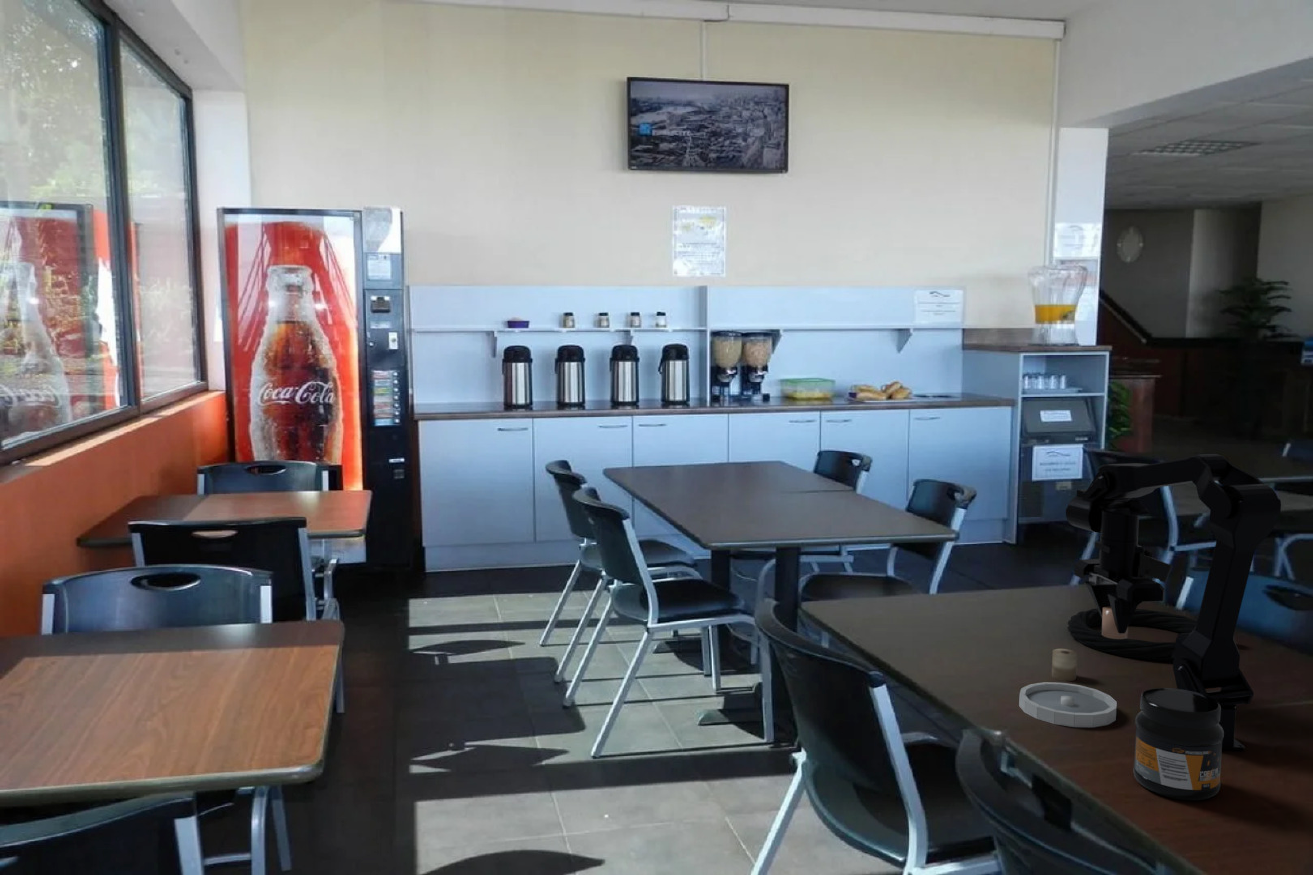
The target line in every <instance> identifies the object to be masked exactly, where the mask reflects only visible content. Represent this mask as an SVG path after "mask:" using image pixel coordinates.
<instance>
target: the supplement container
mask: <svg viewBox="0 0 1313 875" xmlns="http://www.w3.org/2000/svg"><path fill="white" fill-rule="evenodd" d="M1139 707H1140V710H1141V711H1139V712H1138V713H1137V714H1136V716H1135V720H1134V721H1135V722H1134V723H1135V744H1134V759H1133V760H1134V762H1133V770H1132V772H1133V775H1134V778H1135V779H1136V781H1137V782H1138V783H1139V784H1140V785H1142V786H1143V787H1144V788H1145V789H1147V790H1148V791H1150V792H1153V793H1155V794H1157V795H1160V796H1163V797H1166V798H1171V799H1176V800H1182V801H1201V800H1202V801H1203V800H1207V799H1210V798H1212V797H1214V796H1215V795H1217V794H1218V793H1219V791H1220V789H1221V770H1222V769H1221V767H1222V766H1221V765H1222V740H1223V738H1224V731H1223V729H1222V727H1221V726H1220V724H1219V722H1220V716H1221V706H1220V704H1219V703H1218V702H1217V701H1215V700H1214V699H1212V698H1210V697H1208V696H1206V695H1203V694H1200V693H1197V692H1193V691H1188V690H1183V689H1177V688H1174V687H1155V688H1150V689H1146V690H1144V691H1143V692H1142V693H1141V695H1140V705H1139Z"/></svg>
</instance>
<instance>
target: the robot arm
mask: <svg viewBox="0 0 1313 875" xmlns="http://www.w3.org/2000/svg"><path fill="white" fill-rule="evenodd" d="M1217 482H1218V483H1219V484H1220V485H1221V486H1220V485H1219V484H1218V483H1217ZM1186 484H1194V485H1195V486H1196V492H1197V496H1198V499H1199V500H1200V501H1201V502H1202V503H1203V504H1204V505H1205V506H1206V507H1207V509H1209V511H1210V512H1209V520H1208V521H1209V525H1210V527H1211V530H1212V532H1213V534H1214V537H1215V544H1214V548H1213V549H1214V550H1213V553H1212V558H1211V563H1210V567H1209V572H1208V575H1207V580H1206V584H1205V586H1204V587H1205V588H1204V592H1203V595H1202V600H1201V603H1200V604H1201V605H1200V607H1199V613H1198V617H1197V620H1196V621H1197V625H1196V627H1195V629H1194V630H1193V631H1192V632H1191V633H1182V634H1181V633H1178V634H1177V637H1176V639H1175V642H1176V645H1175V650H1174V653H1173V654H1172V656H1171V658H1174V661H1172V662H1173V663H1172V669H1173V674H1174V680H1175V684H1176V689H1183V690H1188V691H1193V692H1197V693H1200V694H1203V695H1206V696H1208V697H1210V698H1212V699H1214V700H1215V701H1217V702H1218V703H1219V704H1220V706H1221V716H1220V722H1219V724H1220V726H1221V727H1222V729H1223V731H1224V738H1223V740H1222V750H1223V751H1226V750H1228V751H1230V750H1232V751H1245V745H1244V744H1242V743H1241V742H1240V741H1238V740H1237V739H1236V738H1235V730H1236V716H1237V706H1240V705H1250V704H1251V702H1252V699H1253V697H1254V691H1253V689H1252V687H1251V685H1249V683H1248V682H1249V681H1247V679H1246V677H1245V675H1244V674H1243V672H1242V671H1241V669H1240V659H1241V652H1240V651H1239V648H1238V646H1237V644H1236V641H1235V632H1236V627H1237V622H1238V619H1239V615H1240V611H1241V608H1242V607H1241V606H1242V602H1243V599H1244V596H1245V592H1246V591H1245V590H1246V587H1247V584H1248V581H1249V580H1248V579H1249V575H1250V571H1251V568H1252V563H1253V559H1254V555H1255V551H1256V549H1257V548H1258V546H1260V544H1262V542H1263V541H1264V540H1266V538H1267V537H1268V536H1269V535H1270V534H1271V533H1272V532H1273V530H1274V527H1275V525H1276V523H1277V520H1278V518H1279V516H1280V514H1281V510H1282V500H1281V499H1280V498H1279V497H1278V495H1277V492H1275V490H1274V489H1273V487H1270V486H1269V485H1268V484H1265V483H1264V482H1263V481H1262V480H1261V479H1260V478H1258V477H1257V476H1255V475H1253V474H1252V473H1250V472H1247V471H1246V470H1244V469H1242V468H1241V467H1238V466H1236V465H1234V464H1233V463H1232V462H1231V461H1230V460H1229V459H1228V458H1227V457H1226V456H1223V455H1221V454H1217V453H1212V454H1211V453H1209V454H1208V453H1207V454H1195V455H1194V454H1193V455H1192V456H1191V457H1186V458H1179V459H1173V460H1167V461H1162V462H1157V463H1150V464H1149V463H1139V462H1137V463H1136V462H1133V463H1131V462H1130V463H1129V462H1128V463H1107V464H1105V463H1104V464H1102V465H1100V466H1099V467H1098V471H1097V473H1096V475H1095V476H1094V478H1093V480H1092V481H1091V483H1090V484H1089V486H1088V488H1087V489H1086V488H1085V489H1077V490H1076V496H1075V497H1073V498H1072V499H1071V500H1070V501H1069V502H1068V505H1067V506H1066V508H1065V517H1066V520H1067V521H1068V523H1069V524H1070V525H1071V526H1073V527H1075V528H1079V529H1082V530H1086V531H1090V532H1093V533H1098V534H1100V538H1099V539H1100V540H1099V541H1094V548H1095V549H1098V550H1099V556H1098V558H1093V559H1092V558H1091V559H1089V558H1087V559H1086V558H1084V559H1079V560H1078V561H1076V562H1075V563H1074V565H1073V566H1074V568H1073V575H1074V576H1075V577H1077V578H1080V579H1085V578H1086V576H1088V581H1084V585H1085V586H1086V587H1087V589H1088V592H1089V593H1090V596H1091V597H1092V599H1093V602H1094V604H1095V606H1096V609H1098V611H1099V613H1100V615H1101V618H1102V615H1103V607H1107V606H1111V609H1112V613H1113V617H1114V621H1115V625H1116V628H1117V631H1118V633H1120V634H1124V633H1126V630H1127V628H1128V629H1129V626H1130V624H1129V623H1130V621H1131V619H1132V616H1133V614H1134V612H1135V610H1136V609H1138V606H1140V604H1141V603H1143V602H1163V601H1165V595H1166V594H1165V591H1166V589H1165V587H1163V585H1162V584H1161V583H1160V582H1162V583H1164V584H1166V583H1167V581H1168V578H1169V576H1170V573H1171V571H1172V568H1173V565H1172V564H1170V563H1167V562H1164V561H1162V560H1159V559H1157V558H1154V557H1153V552H1152V551H1151V550H1148V549H1145V548H1144V547H1143V546H1141V545H1139V543H1138V542H1139V526H1140V524H1139V522H1140V516H1148V515H1149V514H1150V511H1149V510H1148V509H1147V508H1146V506H1144V505H1143V504H1142V503H1141V500H1140V499H1133V498H1141V497H1143V496H1146V495H1149V494H1151V493H1153V492H1154V491H1155V490H1156V489H1159V488H1165V487H1170V486H1176V485H1177V486H1178V485H1186ZM1146 576H1148V578H1146ZM1149 577H1150V578H1149ZM1151 578H1153V579H1156V580H1159V582H1157V581H1156V580H1153V579H1151ZM1233 636H1234V638H1233ZM1217 688H1220V689H1218V690H1211V691H1210V689H1217ZM1208 689H1209V691H1208Z"/></svg>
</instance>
